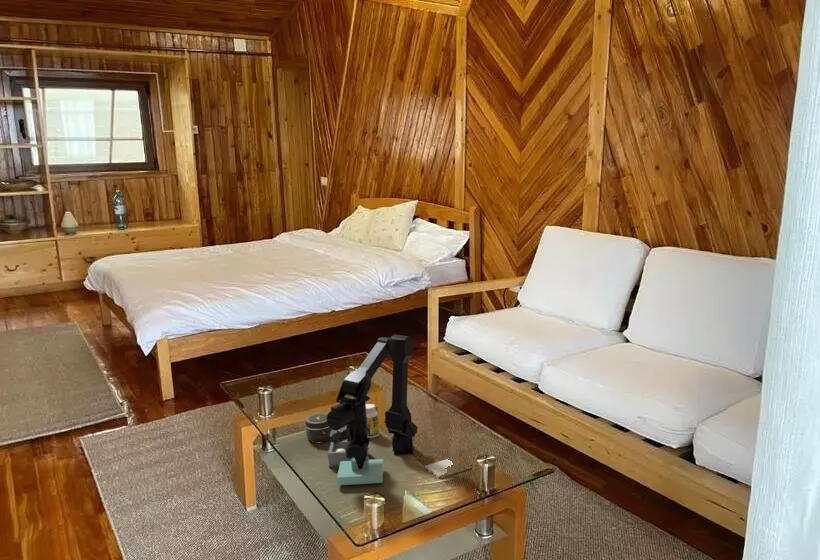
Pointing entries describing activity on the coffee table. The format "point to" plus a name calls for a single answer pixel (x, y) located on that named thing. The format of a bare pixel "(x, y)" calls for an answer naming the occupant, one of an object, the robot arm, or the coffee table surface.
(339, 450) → the storage box
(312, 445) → the coffee table surface
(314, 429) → the jar
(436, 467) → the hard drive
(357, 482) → the lid
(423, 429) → the coffee table surface
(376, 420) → the pill bottle
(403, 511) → the coffee table surface
